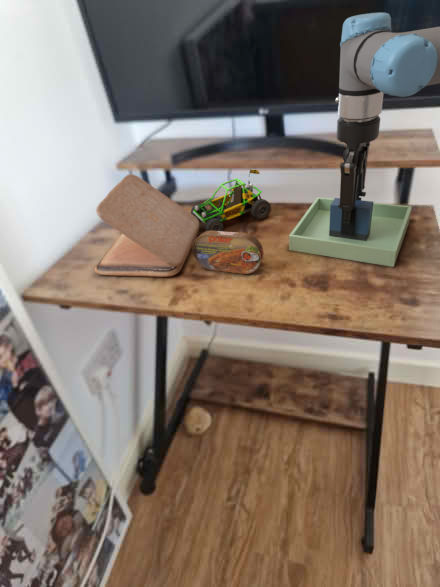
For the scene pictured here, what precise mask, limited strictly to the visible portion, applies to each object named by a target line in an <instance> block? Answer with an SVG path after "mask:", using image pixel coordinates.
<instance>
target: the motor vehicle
mask: <svg viewBox="0 0 440 587" xmlns="http://www.w3.org/2000/svg"><path fill="white" fill-rule="evenodd" d="M251 174H255V175H260V174H261V173H260V171H259V170H258V169H257V170H251V169H249V174H248V176H250V175H251ZM233 182H235V183H234V185H233V186H231V187H226V185H227V184H229V183H233ZM247 183H248V184H246V183H245V182H244V181H242V180H241V179H240V178H238V177H236V178H233V179H230V180H227V181H225V182H223V183H220V185H219V186H218V187H217V189H216V190H215V191H214V192H213V194H212V196H211V197H210V198H209V199H207V200H206V201H204V202H203V203H197V204H195V205H193V206H192V208H191V210H190V213H191V214H193V215H194V216H195V217H196V218H197V219H198V220H199V222H202V223H203V224H204V225H205V232H206V231H224V224H223V222H224V221H230V220H232V219H234V218H237V217H240V216H242V215H245V214H247V213H249V212H250V213H251V216H252V217H253V218H255V219H256V220H258V221H261V220H262V221H263V220H265V219H266V218H267V217H268V216H270V213H271V211H272V206H271V203H270V202H269V201H268V200H266V199H264V198H262V197H261V194H262V193H263V192H262V190H260V189H259V188H257V187H256V186H254V184H253V183H252V182H251V181H247ZM221 188H224V189H225V191H226V192H225V194H224V195H221V196H219V197H217V198H214V197H215V195H216V194H217V193H218V192H219V190H220V189H221ZM254 190H256V192H257V191H258V193H256V194H255V193H254ZM229 191H231V192H230V193H229ZM208 205H209V208H210V209H207V208H206V206H208Z"/></svg>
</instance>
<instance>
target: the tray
mask: <svg viewBox="0 0 440 587" xmlns="http://www.w3.org/2000/svg"><path fill="white" fill-rule="evenodd" d="M334 199H335V198H331V197H321V196H316V198H315V200H314V201H313V202H312V204H311V205H310V206H309V208H308V209H307V210H306V212H305V213H304V214H303V216H302V217H301V219H300V220H299V221H298V223H297V224H296V226H295V227H294V228H293V230H292V231H291V232H290V234H289V235H288V250H289V251H293V252H299V253H304V254H310V255H311V254H312V255H317V256H323V257H331V258H336V259H341V260H348V261H355V262H361V263H367V264H372V265H373V264H374V265H379V266H385V267H390V268H391V267H392V268H394V267H395V265H396V262H397V259H398V256H399V252H400V250H401V247H402V245H403V241H404V238H405V236H406V232H407V229H408V226H409V224H410V221H411V216H412V209H413V206H412V205H402V204H393V203H392V204H391V203H384V202H383V203H382V202H374V203H373V211H372V220H371V229H370V234H369V236H368V239H367V241H362V240H355V239H348V238H340V237H333V236H329V225H330V205H331V203H332V202H333V200H334Z"/></svg>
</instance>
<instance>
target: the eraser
mask: <svg viewBox="0 0 440 587" xmlns="http://www.w3.org/2000/svg"><path fill="white" fill-rule="evenodd" d="M333 199H334V200H333V202H332V203H331V205H330V225H329V236H333V237H340V238H348V239H355V240H362V241H367V239H368V236H369V234H370V229H371V220H372V211H373V203H375V202H374V201H371V200H362V199H361V200H356V203H355V205H356V206H357V208H356V219H355V230H354V236H349V235H341V218H342V209H340V208H338V205H339V204H340V197H334V198H333Z"/></svg>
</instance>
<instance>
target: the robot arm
mask: <svg viewBox="0 0 440 587" xmlns="http://www.w3.org/2000/svg"><path fill="white" fill-rule="evenodd" d="M341 30H342V31H341V38H340V39H341V40H340V43H339V47H340V56H339V79H338V80H339V81H338V82H339V83H338V96H337V97H335V103H338V106H337V116H338V117H339V118H338V119H337V120H336V139H337V141H339V142H340V143H344V144H345V145H346V148H345V150H343V153H342V160H343V162H341V163H340V165H339V167H340V168H339V170H340V184H339V185H340V186H339V187H340V189H339V198H340V204H339V205H338V208H340V209H342V218H341V235H349V236H354V230H355V219H356V208H357V206H356V205H355V203H356V200H362V197H364V198H365V197H366V194H367V192H366V191H364V190H365V187H366V186H365V183H366V174H367V166H368V158H369V157H368V156H369V151H370V147H371V143H372V142H374V141H375V140H377V139H378V137H379V135H380V125H381V117H380V116H379V115H381V114H382V112H383V103H384V102H383V101H384V94H385V95H388V96H392V97H401V98H402V97H403V98H404V97H410V96H413V95H415V94H416V93H418V92H420V91H421V90H422V89H424V88H425V87H427V86H432V85H438V84H440V26H433V27H430V28H422V29H417V30H416V29H415V30H411V31H404V32H392V17H391V15H390V13H388V12H370V13H362V14H357V15H353V16H350V17H347V18H346V19H345V20H344V22H343V24H342V29H341Z"/></svg>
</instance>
